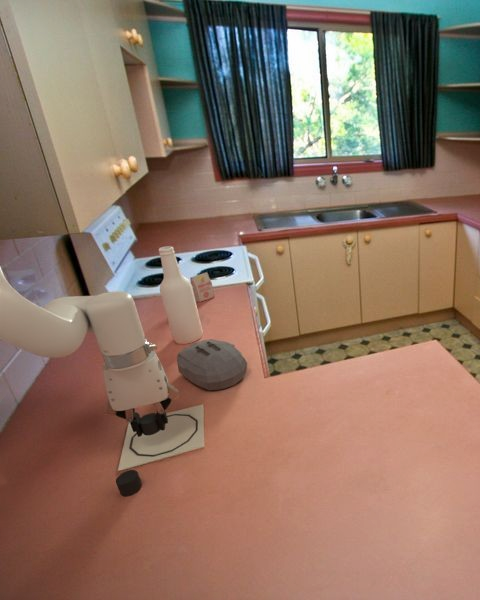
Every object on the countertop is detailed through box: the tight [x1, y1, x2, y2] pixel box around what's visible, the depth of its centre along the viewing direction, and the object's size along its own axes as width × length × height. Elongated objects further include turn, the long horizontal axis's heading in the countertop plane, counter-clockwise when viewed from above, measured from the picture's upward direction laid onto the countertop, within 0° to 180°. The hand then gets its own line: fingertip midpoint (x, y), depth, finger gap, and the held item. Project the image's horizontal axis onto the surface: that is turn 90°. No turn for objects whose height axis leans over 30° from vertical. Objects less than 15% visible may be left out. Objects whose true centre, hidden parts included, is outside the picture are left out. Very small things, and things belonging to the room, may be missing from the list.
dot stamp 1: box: [115, 469, 143, 497], centre depth 80 cm, size 4×4×3 cm
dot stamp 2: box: [139, 412, 160, 435], centre depth 89 cm, size 4×4×3 cm
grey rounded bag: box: [176, 338, 248, 391], centre depth 115 cm, size 15×8×20 cm
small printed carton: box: [189, 272, 216, 304], centre depth 164 cm, size 4×7×10 cm, turn 144°
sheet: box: [117, 403, 206, 473], centre depth 94 cm, size 16×16×1 cm
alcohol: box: [158, 245, 204, 345], centre depth 130 cm, size 9×9×30 cm
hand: (152, 428), depth 90 cm, fingers closed on dot stamp 2, 3 cm apart
